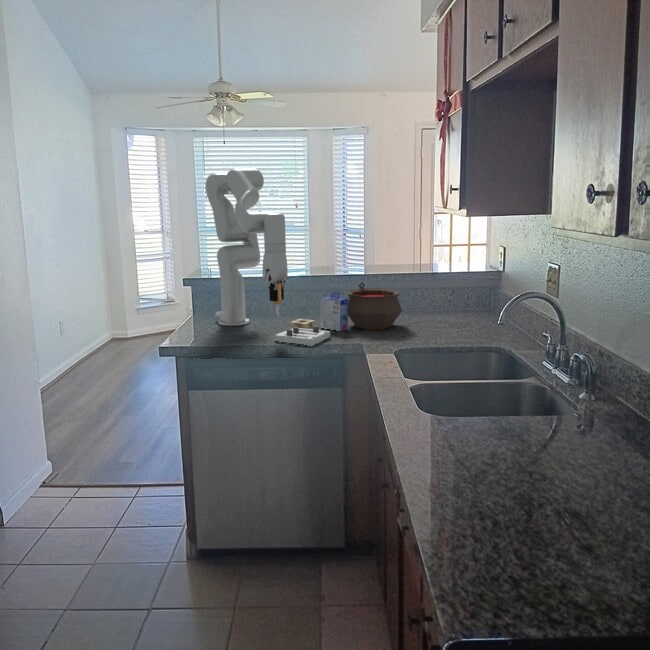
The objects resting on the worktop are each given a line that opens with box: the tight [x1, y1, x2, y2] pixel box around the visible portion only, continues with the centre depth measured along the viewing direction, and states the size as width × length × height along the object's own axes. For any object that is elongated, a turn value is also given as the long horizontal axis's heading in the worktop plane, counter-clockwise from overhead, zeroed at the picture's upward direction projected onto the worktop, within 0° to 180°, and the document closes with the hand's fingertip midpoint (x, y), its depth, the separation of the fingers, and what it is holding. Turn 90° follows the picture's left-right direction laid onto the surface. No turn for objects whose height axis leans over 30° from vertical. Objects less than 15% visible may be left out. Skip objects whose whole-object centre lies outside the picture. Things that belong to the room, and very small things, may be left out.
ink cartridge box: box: [319, 291, 349, 332], centre depth 254 cm, size 10×6×14 cm, turn 53°
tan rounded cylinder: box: [272, 283, 283, 318], centre depth 234 cm, size 3×3×12 cm
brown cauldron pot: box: [346, 281, 403, 330], centre depth 259 cm, size 24×24×16 cm
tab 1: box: [285, 328, 296, 337], centre depth 235 cm, size 4×2×3 cm, turn 62°
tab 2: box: [292, 327, 302, 334], centre depth 239 cm, size 4×2×3 cm, turn 62°
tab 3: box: [310, 325, 321, 333], centre depth 240 cm, size 4×2×3 cm, turn 62°
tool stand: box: [289, 318, 316, 329], centre depth 251 cm, size 7×7×4 cm
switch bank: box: [274, 328, 331, 347], centre depth 238 cm, size 15×14×3 cm
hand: (276, 299), depth 234 cm, fingers closed on tan rounded cylinder, 3 cm apart
